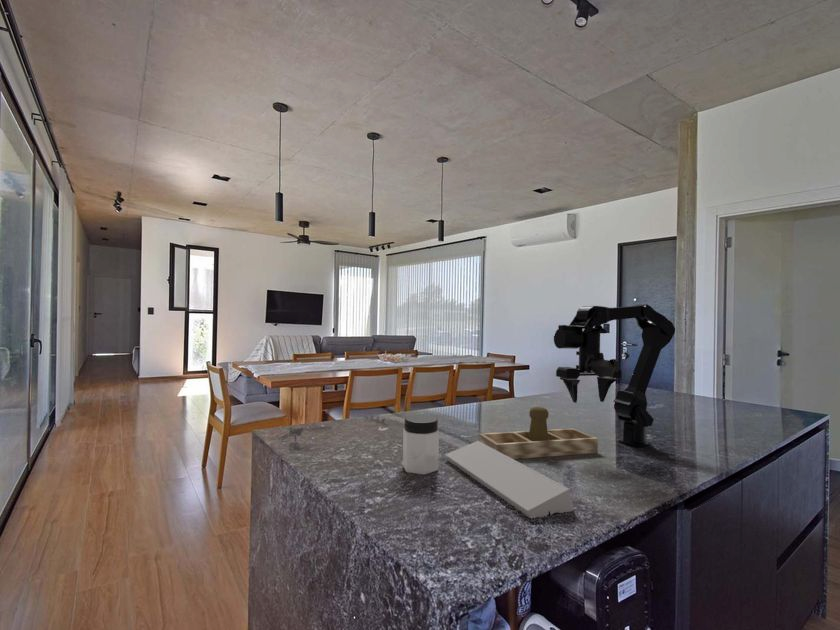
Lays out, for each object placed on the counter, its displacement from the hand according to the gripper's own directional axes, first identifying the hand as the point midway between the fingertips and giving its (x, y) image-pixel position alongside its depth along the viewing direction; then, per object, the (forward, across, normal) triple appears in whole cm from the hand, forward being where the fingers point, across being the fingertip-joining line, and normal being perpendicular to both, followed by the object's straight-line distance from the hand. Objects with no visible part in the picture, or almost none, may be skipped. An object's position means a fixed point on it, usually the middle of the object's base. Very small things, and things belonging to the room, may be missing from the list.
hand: (588, 402), depth 124 cm
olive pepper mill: (+12, -16, 0) cm, 20 cm away
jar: (+13, -53, -7) cm, 55 cm away
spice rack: (+13, -16, 0) cm, 21 cm away
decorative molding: (+14, -38, -19) cm, 45 cm away
